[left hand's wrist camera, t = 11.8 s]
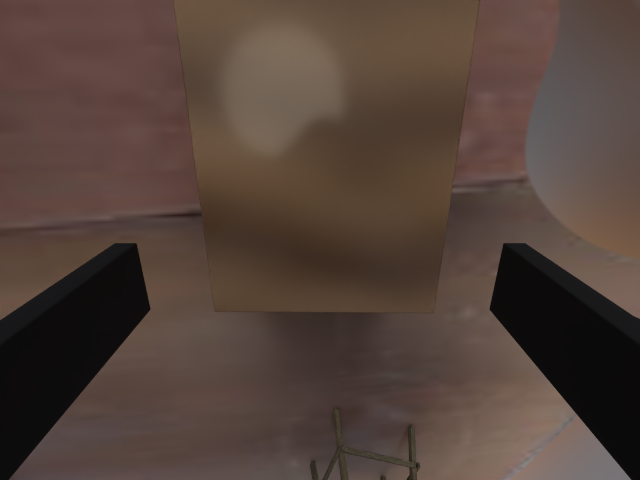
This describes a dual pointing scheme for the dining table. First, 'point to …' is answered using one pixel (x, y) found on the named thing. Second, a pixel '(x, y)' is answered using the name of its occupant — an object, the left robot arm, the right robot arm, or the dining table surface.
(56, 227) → the dining table surface
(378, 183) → the cabinet
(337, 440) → the miniature windmill
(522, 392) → the dining table surface
